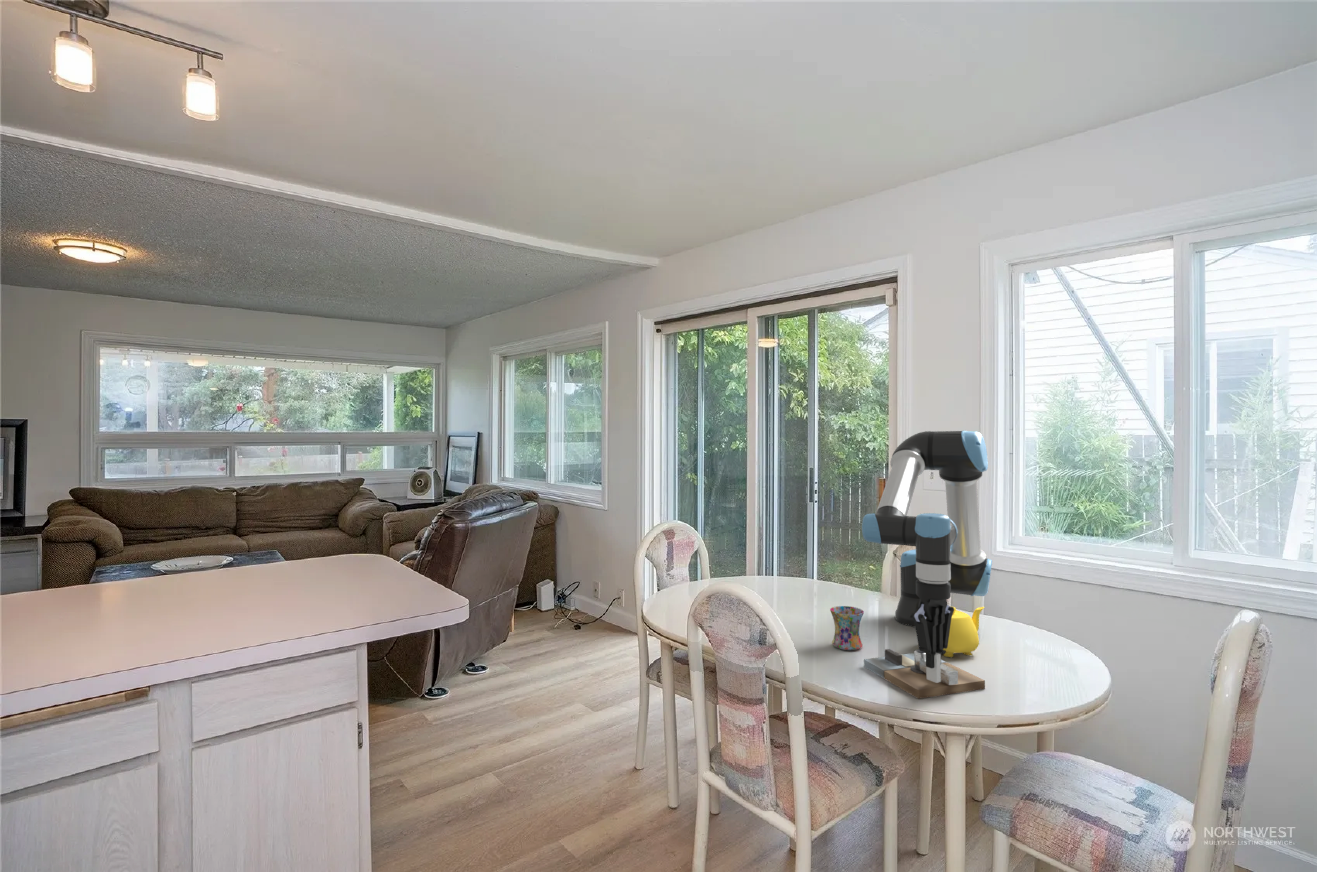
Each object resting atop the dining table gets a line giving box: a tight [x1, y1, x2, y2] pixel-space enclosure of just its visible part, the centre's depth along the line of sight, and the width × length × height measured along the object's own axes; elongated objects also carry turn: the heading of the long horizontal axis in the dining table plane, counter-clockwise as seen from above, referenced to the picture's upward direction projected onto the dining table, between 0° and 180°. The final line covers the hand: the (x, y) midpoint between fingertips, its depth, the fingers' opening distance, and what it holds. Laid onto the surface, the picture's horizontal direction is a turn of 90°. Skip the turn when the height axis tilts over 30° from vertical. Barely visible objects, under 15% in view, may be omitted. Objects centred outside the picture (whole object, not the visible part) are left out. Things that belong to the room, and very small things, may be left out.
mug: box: [829, 605, 865, 651], centre depth 183 cm, size 12×9×11 cm
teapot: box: [943, 606, 985, 658], centre depth 178 cm, size 13×20×12 cm
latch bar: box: [913, 648, 958, 685], centre depth 153 cm, size 13×3×4 cm, turn 17°
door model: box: [863, 648, 986, 700], centre depth 159 cm, size 19×21×4 cm
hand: (933, 680), depth 148 cm, fingers closed
